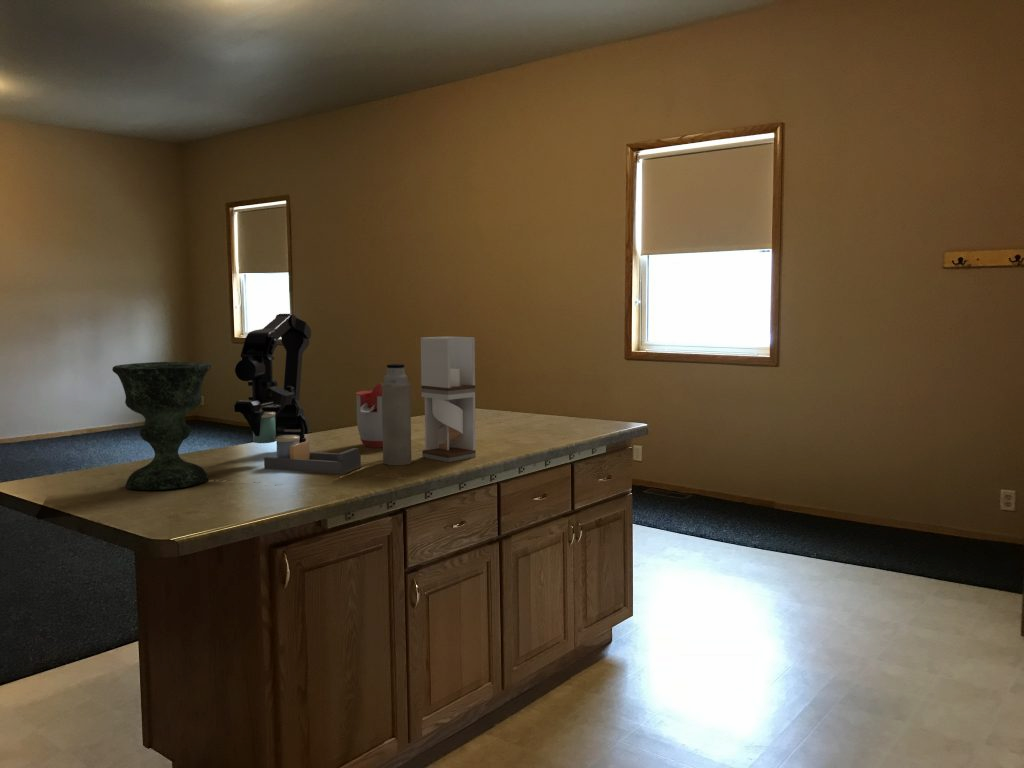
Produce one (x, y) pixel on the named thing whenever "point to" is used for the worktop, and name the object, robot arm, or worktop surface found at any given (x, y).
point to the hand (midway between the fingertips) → (264, 434)
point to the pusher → (300, 451)
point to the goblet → (164, 419)
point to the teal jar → (266, 428)
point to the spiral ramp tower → (448, 397)
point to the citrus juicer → (370, 416)
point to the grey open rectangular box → (318, 462)
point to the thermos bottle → (396, 416)
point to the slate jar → (286, 445)
